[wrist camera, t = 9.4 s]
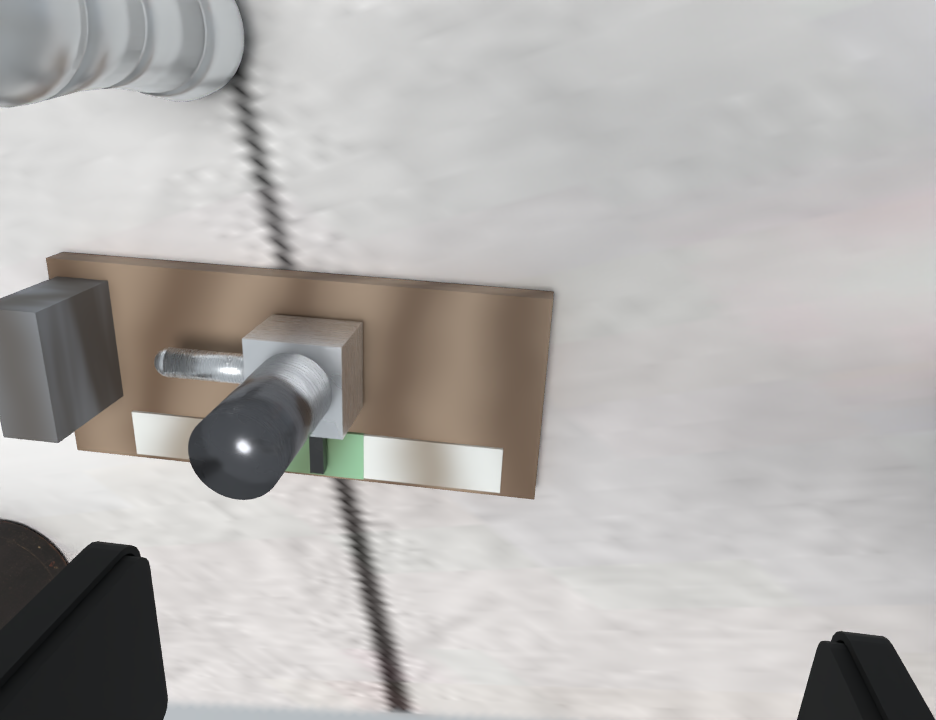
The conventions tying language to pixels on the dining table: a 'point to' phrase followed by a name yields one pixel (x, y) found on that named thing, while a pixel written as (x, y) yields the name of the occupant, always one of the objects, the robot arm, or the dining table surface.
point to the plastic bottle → (117, 47)
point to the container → (24, 567)
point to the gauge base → (221, 329)
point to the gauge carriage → (273, 400)
